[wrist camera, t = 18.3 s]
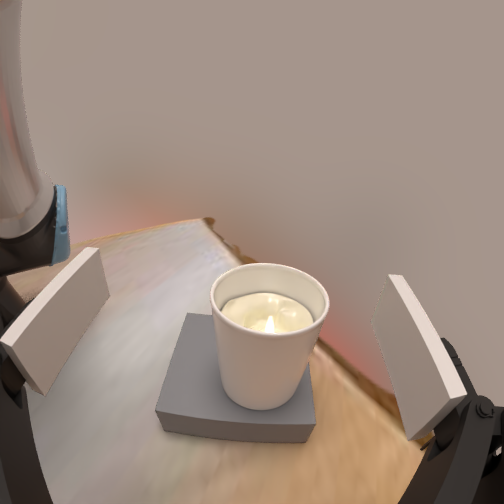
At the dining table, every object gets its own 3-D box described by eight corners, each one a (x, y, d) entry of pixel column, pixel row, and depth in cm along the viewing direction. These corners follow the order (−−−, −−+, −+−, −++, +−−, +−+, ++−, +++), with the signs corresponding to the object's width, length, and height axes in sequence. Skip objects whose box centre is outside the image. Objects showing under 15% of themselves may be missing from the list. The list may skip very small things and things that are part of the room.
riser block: (164, 430, 26) (154, 410, 23) (190, 337, 40) (187, 312, 38) (305, 442, 25) (315, 423, 23) (297, 346, 40) (303, 321, 37)
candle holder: (320, 377, 29) (349, 293, 23) (263, 434, 22) (279, 357, 16) (256, 336, 34) (264, 252, 29) (195, 377, 28) (185, 289, 22)
